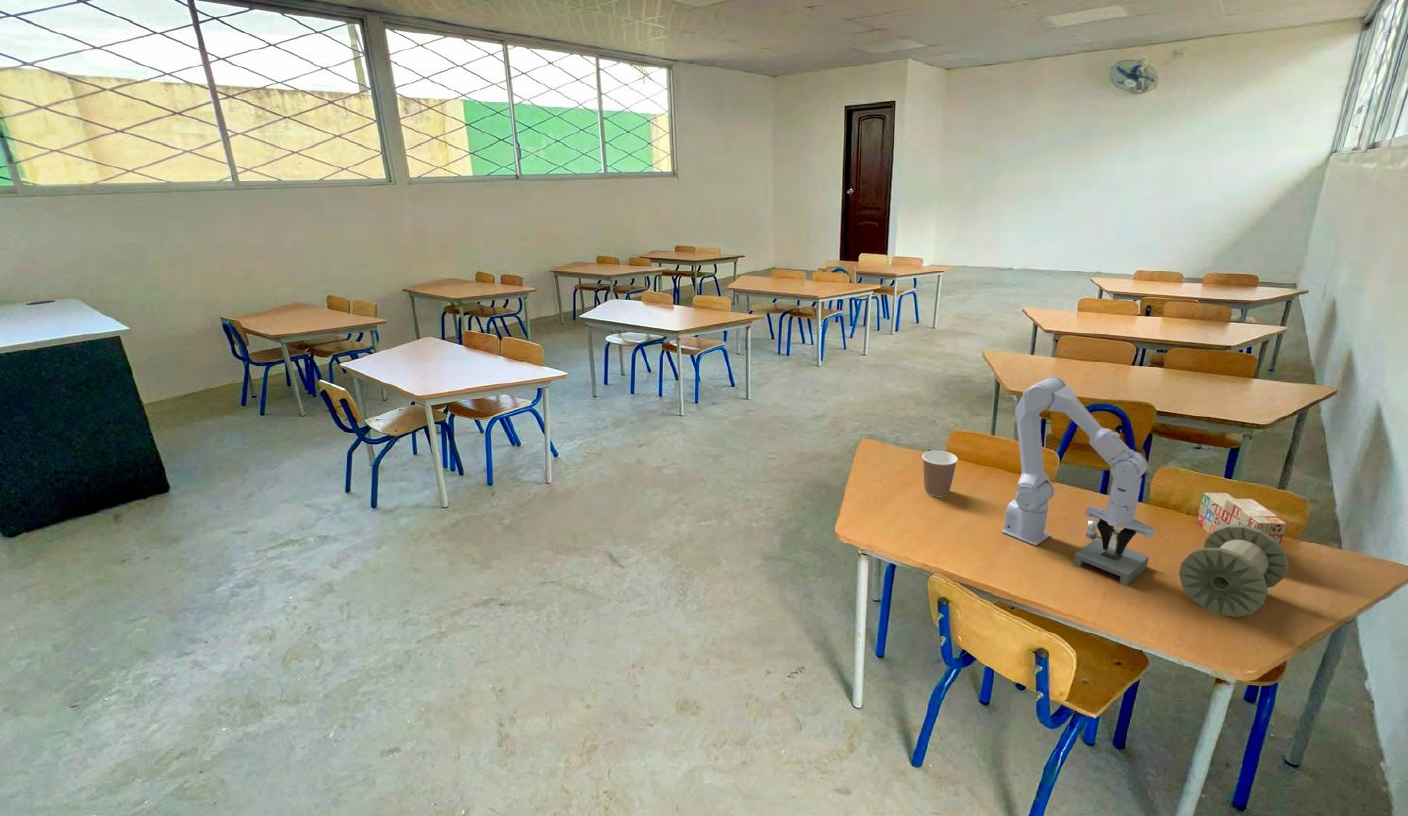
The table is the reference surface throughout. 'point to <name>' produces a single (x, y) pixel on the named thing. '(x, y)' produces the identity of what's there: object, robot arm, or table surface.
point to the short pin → (1092, 528)
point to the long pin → (1112, 544)
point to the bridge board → (1112, 561)
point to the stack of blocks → (1237, 514)
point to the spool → (1234, 570)
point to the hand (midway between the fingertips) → (1112, 551)
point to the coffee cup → (938, 472)
